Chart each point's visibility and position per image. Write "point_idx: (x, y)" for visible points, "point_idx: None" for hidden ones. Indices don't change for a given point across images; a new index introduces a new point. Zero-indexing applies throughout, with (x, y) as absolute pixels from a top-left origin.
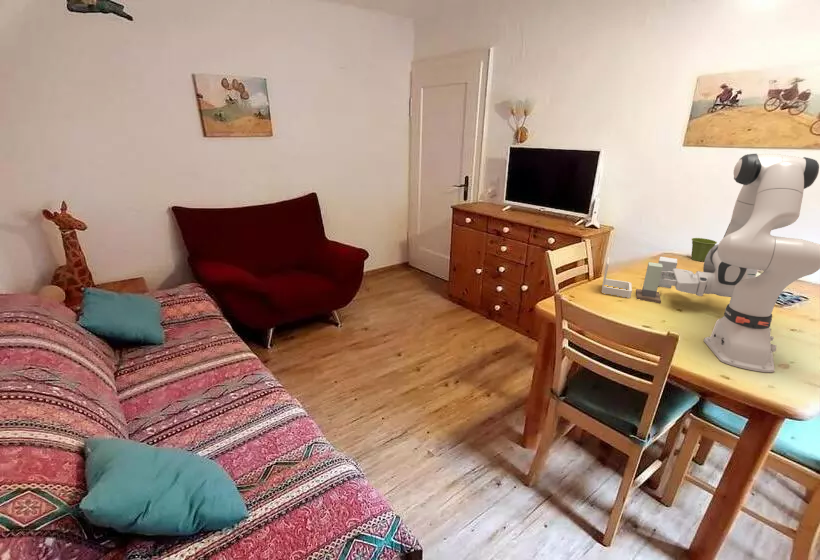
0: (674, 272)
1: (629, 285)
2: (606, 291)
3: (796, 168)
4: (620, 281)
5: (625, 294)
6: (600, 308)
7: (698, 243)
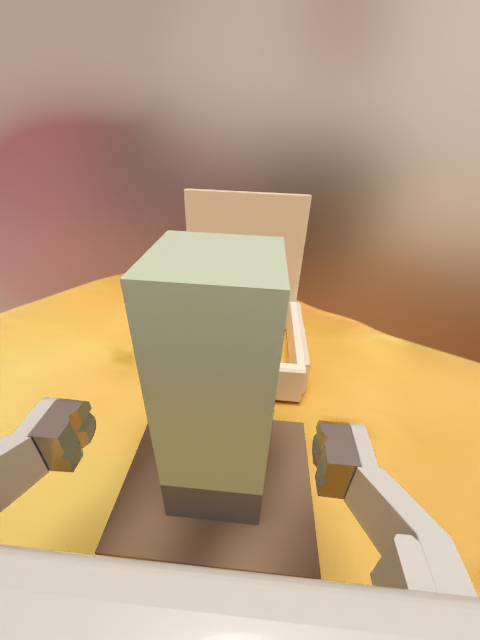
0: (343, 583)
1: None
2: None
3: None
4: (294, 338)
5: None
6: (46, 311)
7: None
